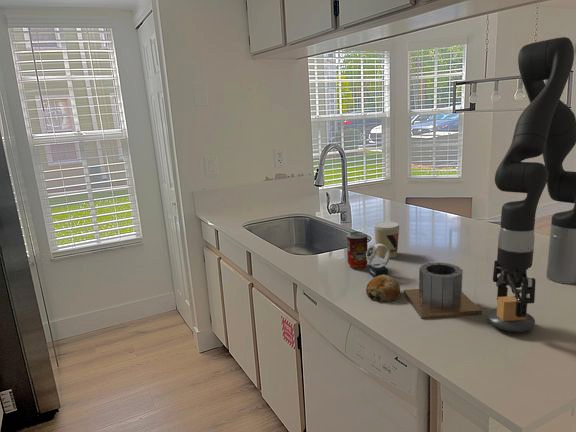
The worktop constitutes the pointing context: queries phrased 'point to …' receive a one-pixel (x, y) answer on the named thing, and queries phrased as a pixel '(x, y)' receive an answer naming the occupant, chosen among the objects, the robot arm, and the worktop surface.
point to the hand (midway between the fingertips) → (510, 308)
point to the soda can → (357, 250)
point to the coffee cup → (386, 238)
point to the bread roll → (383, 288)
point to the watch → (377, 268)
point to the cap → (509, 316)
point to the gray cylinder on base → (440, 292)
